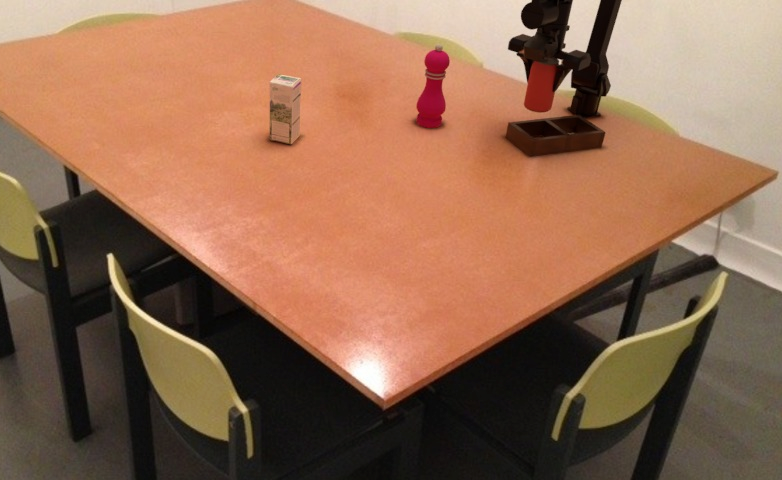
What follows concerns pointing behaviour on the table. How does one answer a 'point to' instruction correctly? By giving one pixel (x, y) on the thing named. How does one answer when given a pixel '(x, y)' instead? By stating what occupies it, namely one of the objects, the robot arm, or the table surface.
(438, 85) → the pepper mill
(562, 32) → the robot arm
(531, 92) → the beer can
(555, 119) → the can rack
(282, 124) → the syrup box
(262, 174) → the table surface
